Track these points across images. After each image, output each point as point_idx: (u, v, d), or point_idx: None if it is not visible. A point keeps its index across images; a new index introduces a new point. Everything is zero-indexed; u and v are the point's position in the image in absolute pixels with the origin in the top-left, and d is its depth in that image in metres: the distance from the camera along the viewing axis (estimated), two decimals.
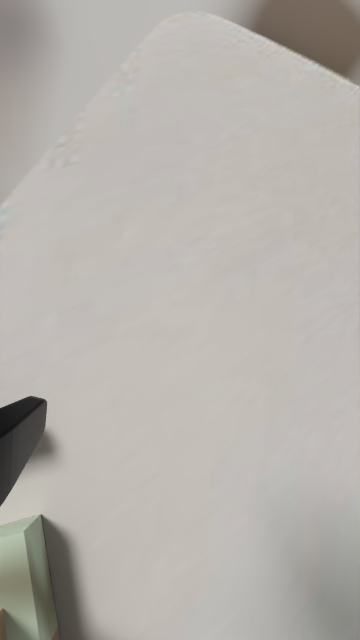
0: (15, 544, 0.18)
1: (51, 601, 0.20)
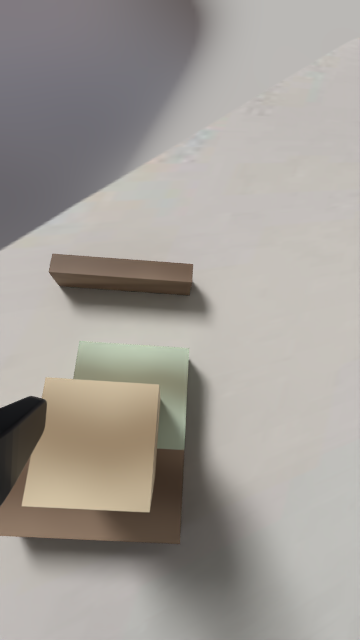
0: (180, 355, 0.21)
1: None
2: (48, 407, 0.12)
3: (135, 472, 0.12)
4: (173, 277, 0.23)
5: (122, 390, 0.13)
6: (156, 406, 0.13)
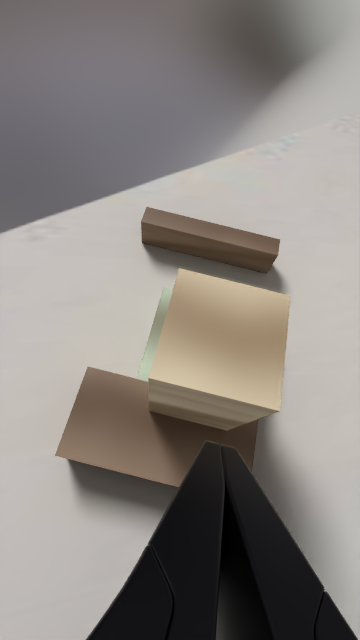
0: None
1: None
2: (180, 294, 0.12)
3: (265, 369, 0.11)
4: (260, 247, 0.23)
5: (253, 293, 0.12)
6: (287, 315, 0.12)
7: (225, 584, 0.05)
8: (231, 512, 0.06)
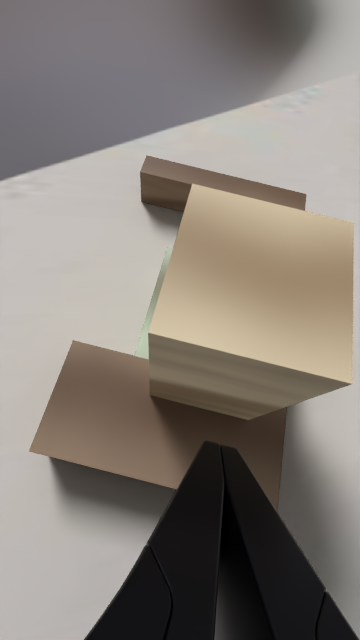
0: None
1: None
2: (194, 217, 0.08)
3: (325, 323, 0.07)
4: (282, 202, 0.20)
5: (301, 219, 0.09)
6: (351, 248, 0.08)
7: (226, 584, 0.05)
8: (232, 512, 0.06)
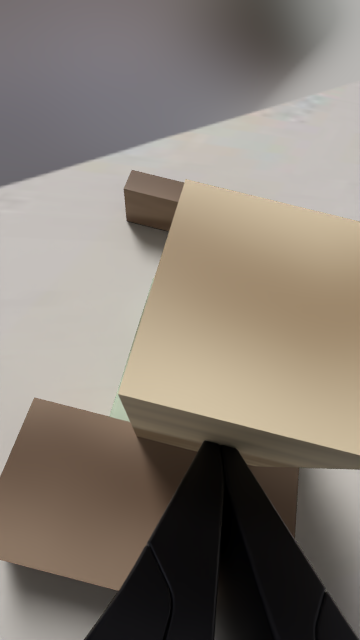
0: None
1: None
2: (188, 224, 0.06)
3: None
4: None
5: (331, 226, 0.06)
6: None
7: (226, 584, 0.05)
8: (232, 512, 0.06)
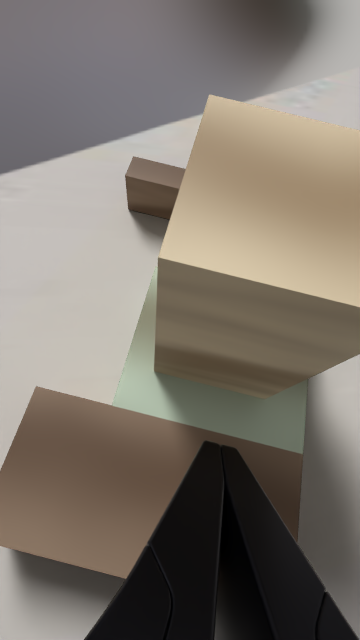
0: None
1: None
2: (213, 130, 0.07)
3: None
4: None
5: (343, 136, 0.07)
6: None
7: (226, 584, 0.05)
8: (232, 512, 0.06)
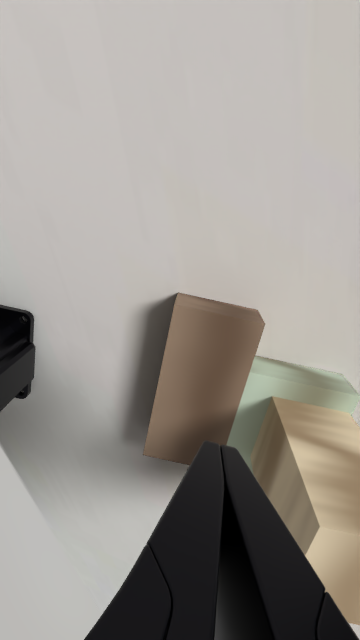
0: None
1: None
2: None
3: None
4: None
5: None
6: None
7: (226, 584, 0.05)
8: (232, 512, 0.06)
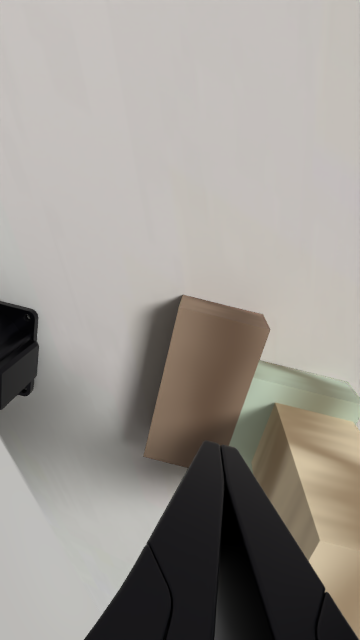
0: None
1: None
2: None
3: None
4: None
5: None
6: None
7: (226, 584, 0.05)
8: (232, 512, 0.06)
